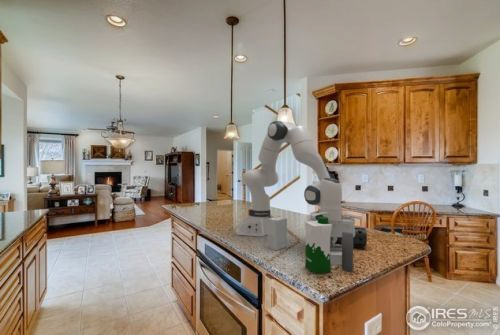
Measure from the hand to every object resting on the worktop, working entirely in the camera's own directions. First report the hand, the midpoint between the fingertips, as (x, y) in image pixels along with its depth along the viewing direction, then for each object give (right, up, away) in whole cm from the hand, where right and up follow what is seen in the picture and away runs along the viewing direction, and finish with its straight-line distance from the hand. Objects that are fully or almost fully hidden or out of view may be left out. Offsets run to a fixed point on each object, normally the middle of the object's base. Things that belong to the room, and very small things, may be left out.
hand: (330, 246), depth 103 cm
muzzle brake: (+9, -6, +19) cm, 22 cm away
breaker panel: (+1, -5, 0) cm, 5 cm away
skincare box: (-22, -5, +14) cm, 26 cm away
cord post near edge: (+3, -5, -11) cm, 13 cm away
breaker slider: (+7, -1, 0) cm, 7 cm away
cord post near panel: (+4, -5, +11) cm, 12 cm away
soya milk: (-9, -5, -11) cm, 15 cm away
